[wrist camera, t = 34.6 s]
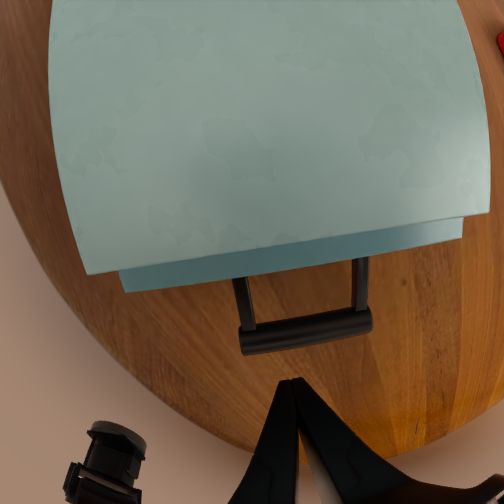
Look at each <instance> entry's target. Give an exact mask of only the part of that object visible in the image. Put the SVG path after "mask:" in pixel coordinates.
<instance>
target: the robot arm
mask: <svg viewBox="0 0 504 504" xmlns="http://www.w3.org/2000/svg"><path fill="white" fill-rule="evenodd" d="M298 430H299V433H298ZM87 434H88V435H89V436H90V437H91V439H92V441H91V444H90V447H89V449H88V452H87V455H86V458H85V461H84V463H83V465H82V464H81V463H79V462H78V463H77V464H76V463H73V462H71V464H70V467H69V470H68V473H67V475H66V479H65V482H64V485H63V490H64V492H65V496H66V498H65V501H67V502H69V503H70V504H141V497H142V490H140V489H136V488H133V484H134V480H135V479H137V478H138V475H139V471H140V466H141V462H142V461H145V459H146V458H145V456H144V455H143V454H142V453H141V452H140V451H139V450H138V449H137V448H136V447H135V446H134V444H133V443H132V442H131V441H130V440H129V439H128V438H127V437H126V436H124V435H118V434H111V433H104V432H97V431H92V430H87ZM299 434H300V438H301V441H302V444H303V447H304V450H305V453H306V456H307V459H308V462H309V465H310V468H311V471H312V474H313V477H314V480H315V483H316V486H317V489H318V492H319V495H320V498H321V501H322V504H504V494H503V495H502V496H501V497H500V498H498V499H497V500H496V498H495V496H497V495H498V494H499V493H500V492H502V491H503V490H504V475H500V474H494V475H493V476H491V477H489V478H488V479H487V480H485V481H484V482H482V483H481V484H479V485H478V486H476V487H473V488H468V489H460V488H452V487H446V486H440V485H434V484H429V483H424V482H420V481H417V480H415V479H412V478H411V477H409V476H407V475H406V474H404V473H403V472H401V471H400V470H398V469H397V468H395V467H394V466H393V465H391V464H390V463H388V462H387V461H385V460H384V459H383V458H381V457H380V456H379V455H378V454H376V453H375V452H374V451H373V450H371V449H370V448H369V447H368V446H367V445H366V444H365V443H364V442H363V441H362V440H361V439H360V438H359V437H358V436H357V435H356V434H355V433H354V432H353V431H352V430H351V429H350V428H349V427H348V426H347V425H346V424H345V423H344V422H343V421H342V420H341V418H340V417H339V416H338V415H337V414H336V413H335V412H334V411H333V410H332V409H331V408H330V407H329V406H328V405H327V404H326V402H325V401H324V400H323V399H322V398H321V397H320V396H319V395H318V394H317V393H316V392H315V391H314V389H313V388H312V387H311V386H310V385H309V384H308V383H307V382H306V381H305V380H304V378H302V377H299V378H293V379H291V380H289V379H288V380H282V381H279V383H278V386H277V389H276V392H275V395H274V398H273V401H272V404H271V407H270V410H269V413H268V415H267V418H266V421H265V424H264V427H263V430H262V432H261V435H260V438H259V441H258V443H257V446H256V449H255V451H254V455H253V456H252V459H251V461H250V464H249V466H248V469H247V471H246V473H245V476H244V477H243V479H242V481H241V483H240V484H239V486H238V488H237V489H236V491H235V493H234V494H233V496H232V498H231V499H230V501H229V502H228V504H299ZM355 435H356V436H355ZM78 476H81V477H83V478H79V477H78Z"/></svg>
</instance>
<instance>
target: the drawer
mask: <svg viewBox="0 0 504 504" xmlns="http://www.w3.org/2000/svg"><path fill="white" fill-rule="evenodd" d="M462 230H463V217H459V218H453V219H446V220H439V221H433V222H426V223H420V224H413V225H406V226H400V227H393V228H387V229H380V230H374V231H367V232H361V233H354V234H347V235H341V236H334V237H328V238H322V239H315V240H309V241H302V242H296V243H289V244H283V245H276V246H270V247H264V248H257V249H251V250H244V251H238V252H232V253H225V254H219V255H212V256H206V257H200V258H193V259H187V260H181V261H174V262H168V263H162V264H155V265H149V266H143V267H137V268H130V269H124V270H118V274H119V277H120V280H121V283H122V285H123V288H124V291H125V293H130V292H138V291H146V290H154V289H161V288H169V287H176V286H183V285H191V284H198V283H205V282H212V281H219V280H225V279H232V284H233V289H234V294H235V298H236V303H237V308H238V312H239V317H240V322H241V326H239V330H238V333H239V342H240V348H241V352H242V354H243V356H248V355H256V354H263V353H270V352H276V351H282V350H288V349H294V348H300V347H305V346H311V345H316V344H321V343H326V342H331V341H335V340H340V339H344V338H349V337H353V336H357V335H361V334H365V333H369V332H371V331H372V328H373V318H372V313H371V310H370V308H369V306H368V305H367V299H368V278H369V256H372V255H377V254H383V253H388V252H393V251H399V250H404V249H409V248H414V247H420V246H425V245H430V244H435V243H440V242H445V241H450V240H455V239H459V238H462ZM349 259H352V299H351V306H352V307H347V308H342V309H337V310H332V311H327V312H322V313H317V314H312V315H306V316H300V317H295V318H289V319H283V320H277V321H270V322H264V323H257V324H256V321H255V316H254V310H253V304H252V299H251V293H250V288H249V282H248V277H247V276H252V275H258V274H265V273H271V272H278V271H284V270H290V269H296V268H302V267H308V266H314V265H320V264H326V263H332V262H338V261H344V260H349Z"/></svg>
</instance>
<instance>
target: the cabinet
mask: <svg viewBox="0 0 504 504" xmlns="http://www.w3.org/2000/svg"><path fill="white" fill-rule="evenodd" d="M48 85H49V104H50V116H51V126H52V134H53V142H54V149H55V155H56V161H57V167H58V172H59V177H60V182H61V187H62V191H63V196H64V200H65V204H66V208H67V212H68V216H69V219H70V223H71V227H72V230H73V234H74V237H75V240H76V243H77V247H78V250H79V253H80V256H81V259H82V262H83V265H84V268H85V270H86V273H87V275H93V274H99V273H105V272H112V271H118V270H124V269H130V268H137V267H143V266H149V265H155V264H162V263H168V262H174V261H181V260H187V259H193V258H200V257H206V256H212V255H219V254H225V253H232V252H238V251H244V250H251V249H257V248H264V247H270V246H276V245H283V244H289V243H296V242H302V241H309V240H315V239H322V238H328V237H334V236H341V235H347V234H354V233H361V232H367V231H374V230H380V229H387V228H393V227H400V226H406V225H413V224H420V223H426V222H433V221H439V220H446V219H453V218H459V217H466V216H473V215H479V214H486V213H489V207H490V178H491V172H490V144H489V131H488V121H487V113H486V106H485V99H484V93H483V88H482V83H481V78H480V73H479V69H478V65H477V61H476V57H475V53H474V49H473V46H472V43H471V39H470V36H469V33H468V30H467V27H466V24H465V21H464V19H463V16H462V13H461V11H460V8H459V6H458V3H457V1H456V0H53V3H52V11H51V20H50V31H49V49H48Z"/></svg>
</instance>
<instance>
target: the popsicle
mask: <svg viewBox="0 0 504 504" xmlns="http://www.w3.org/2000/svg"><path fill="white" fill-rule="evenodd" d="M498 44H499V47H500V49H501V51H502V53H503V55H504V32H503V33H501V34H500V35H499V36H498Z"/></svg>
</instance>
